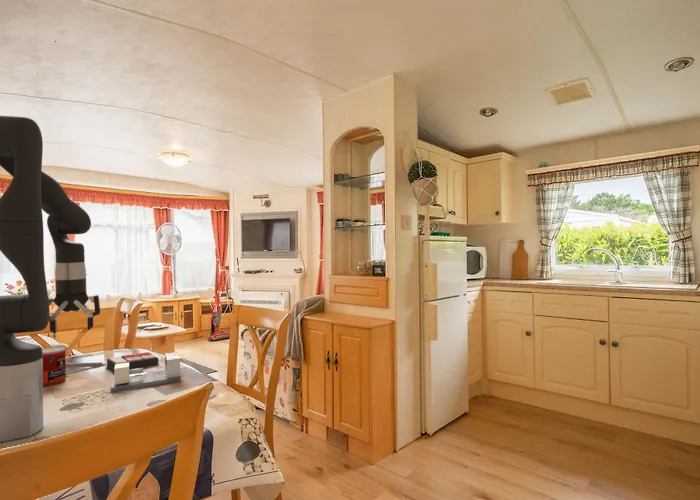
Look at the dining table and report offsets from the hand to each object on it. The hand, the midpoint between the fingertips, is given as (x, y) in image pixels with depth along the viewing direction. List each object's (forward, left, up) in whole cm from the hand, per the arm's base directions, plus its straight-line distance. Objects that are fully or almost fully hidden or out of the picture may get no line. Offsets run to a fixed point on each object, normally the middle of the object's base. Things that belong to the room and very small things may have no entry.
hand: (72, 331), depth 118 cm
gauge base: (+4, -20, -20) cm, 28 cm away
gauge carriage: (+5, -15, -18) cm, 24 cm away
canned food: (+21, +8, -20) cm, 31 cm away
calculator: (+29, -16, -21) cm, 38 cm away
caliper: (+33, +3, -20) cm, 39 cm away
